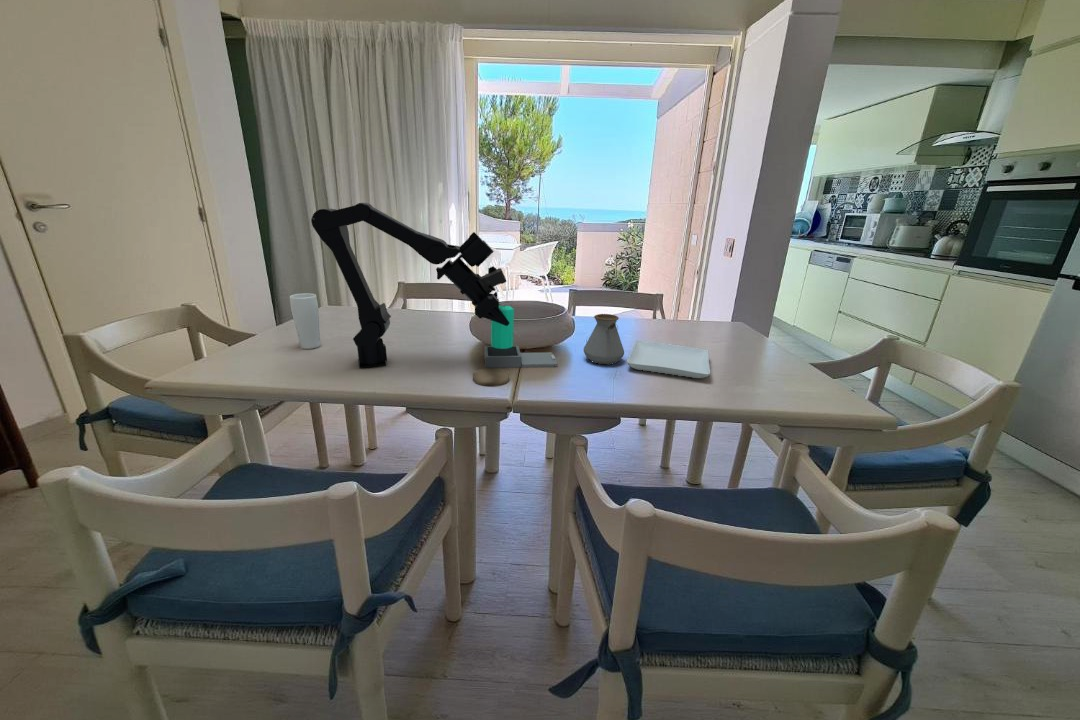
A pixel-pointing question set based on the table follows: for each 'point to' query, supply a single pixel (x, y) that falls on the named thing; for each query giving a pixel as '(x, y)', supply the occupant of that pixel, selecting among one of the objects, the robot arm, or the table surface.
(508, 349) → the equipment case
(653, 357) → the salad plate
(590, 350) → the coffee pot
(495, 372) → the coaster
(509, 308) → the candle
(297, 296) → the drinking glass
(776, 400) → the table surface
